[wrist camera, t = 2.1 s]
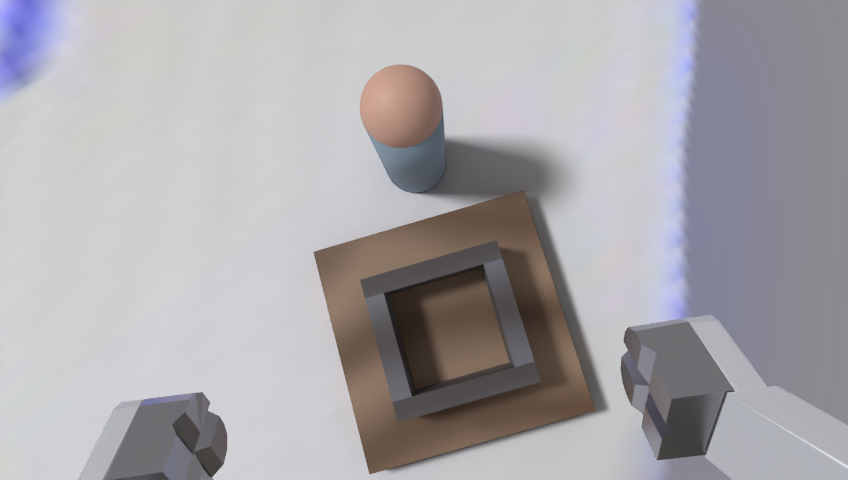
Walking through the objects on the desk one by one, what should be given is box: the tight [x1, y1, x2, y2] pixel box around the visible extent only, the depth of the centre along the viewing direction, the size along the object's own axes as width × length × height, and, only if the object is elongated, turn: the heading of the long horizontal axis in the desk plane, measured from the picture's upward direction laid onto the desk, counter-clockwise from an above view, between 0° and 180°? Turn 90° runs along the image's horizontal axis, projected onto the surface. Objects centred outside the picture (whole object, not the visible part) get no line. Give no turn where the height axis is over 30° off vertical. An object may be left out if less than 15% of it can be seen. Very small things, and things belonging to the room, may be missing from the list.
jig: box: [314, 191, 595, 474], centre depth 33 cm, size 15×15×4 cm
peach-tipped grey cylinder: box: [360, 65, 446, 193], centre depth 31 cm, size 4×4×12 cm
